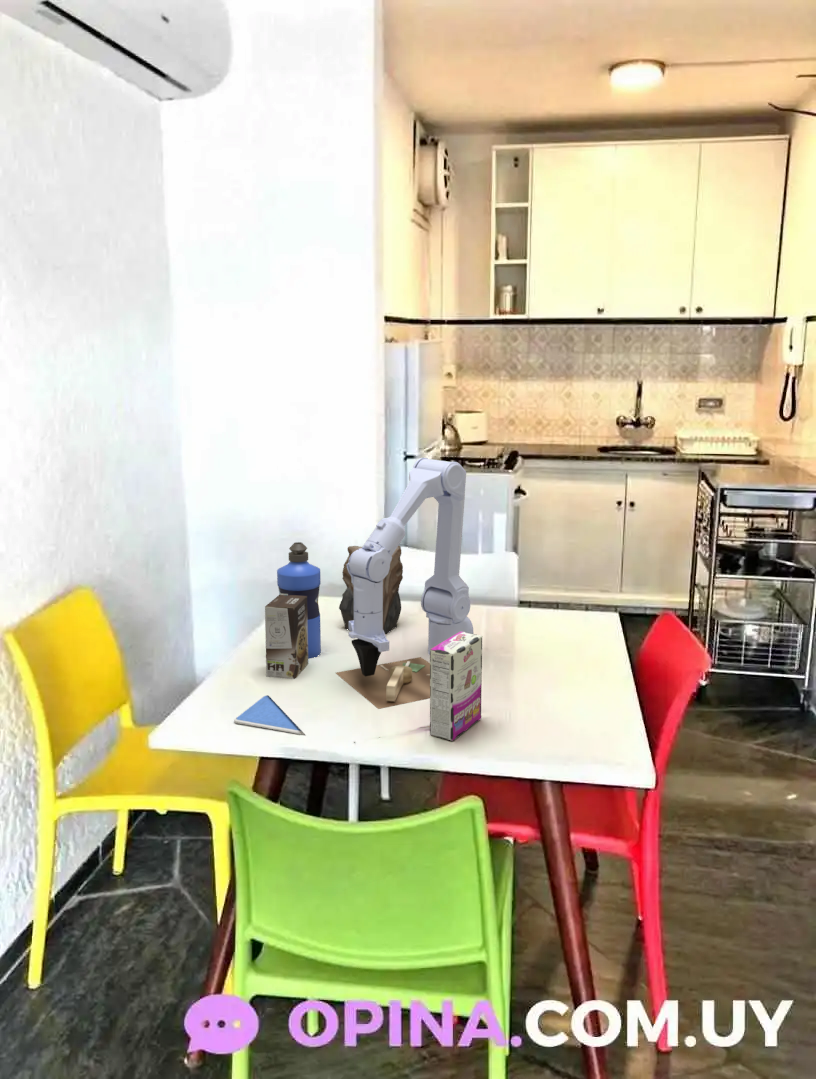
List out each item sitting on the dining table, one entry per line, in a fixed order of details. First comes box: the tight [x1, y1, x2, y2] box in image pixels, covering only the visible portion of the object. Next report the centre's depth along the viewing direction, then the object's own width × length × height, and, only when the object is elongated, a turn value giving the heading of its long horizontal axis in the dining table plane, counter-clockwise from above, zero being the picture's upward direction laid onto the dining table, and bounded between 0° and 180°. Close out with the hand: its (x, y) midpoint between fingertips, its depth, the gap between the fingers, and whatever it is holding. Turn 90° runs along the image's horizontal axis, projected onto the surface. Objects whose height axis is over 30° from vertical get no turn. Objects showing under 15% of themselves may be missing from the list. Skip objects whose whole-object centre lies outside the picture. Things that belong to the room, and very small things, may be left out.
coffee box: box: [264, 594, 309, 680], centre depth 180 cm, size 9×6×16 cm
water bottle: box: [276, 541, 322, 660], centre depth 192 cm, size 9×9×25 cm
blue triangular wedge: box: [233, 695, 306, 736], centre depth 162 cm, size 19×13×1 cm, turn 71°
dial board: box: [335, 656, 430, 710], centre depth 176 cm, size 20×20×1 cm
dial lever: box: [386, 661, 412, 701], centre depth 175 cm, size 20×4×3 cm, turn 170°
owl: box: [338, 545, 404, 635], centre depth 210 cm, size 13×13×20 cm
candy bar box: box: [429, 632, 483, 742], centre depth 157 cm, size 11×5×16 cm, turn 148°
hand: (368, 674), depth 175 cm, fingers closed
